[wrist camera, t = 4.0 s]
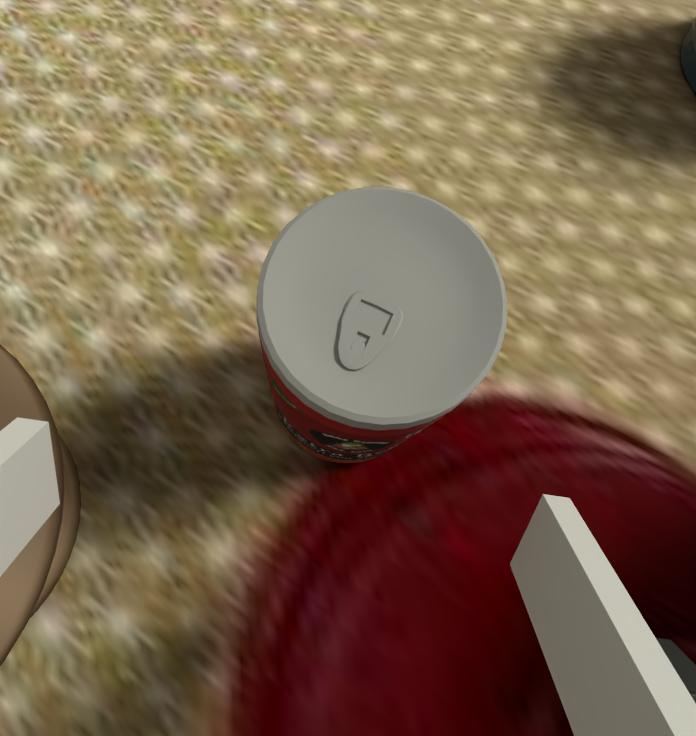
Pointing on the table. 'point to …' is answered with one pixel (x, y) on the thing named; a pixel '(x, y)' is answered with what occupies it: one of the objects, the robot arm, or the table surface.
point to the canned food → (376, 320)
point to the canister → (690, 55)
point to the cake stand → (58, 534)
